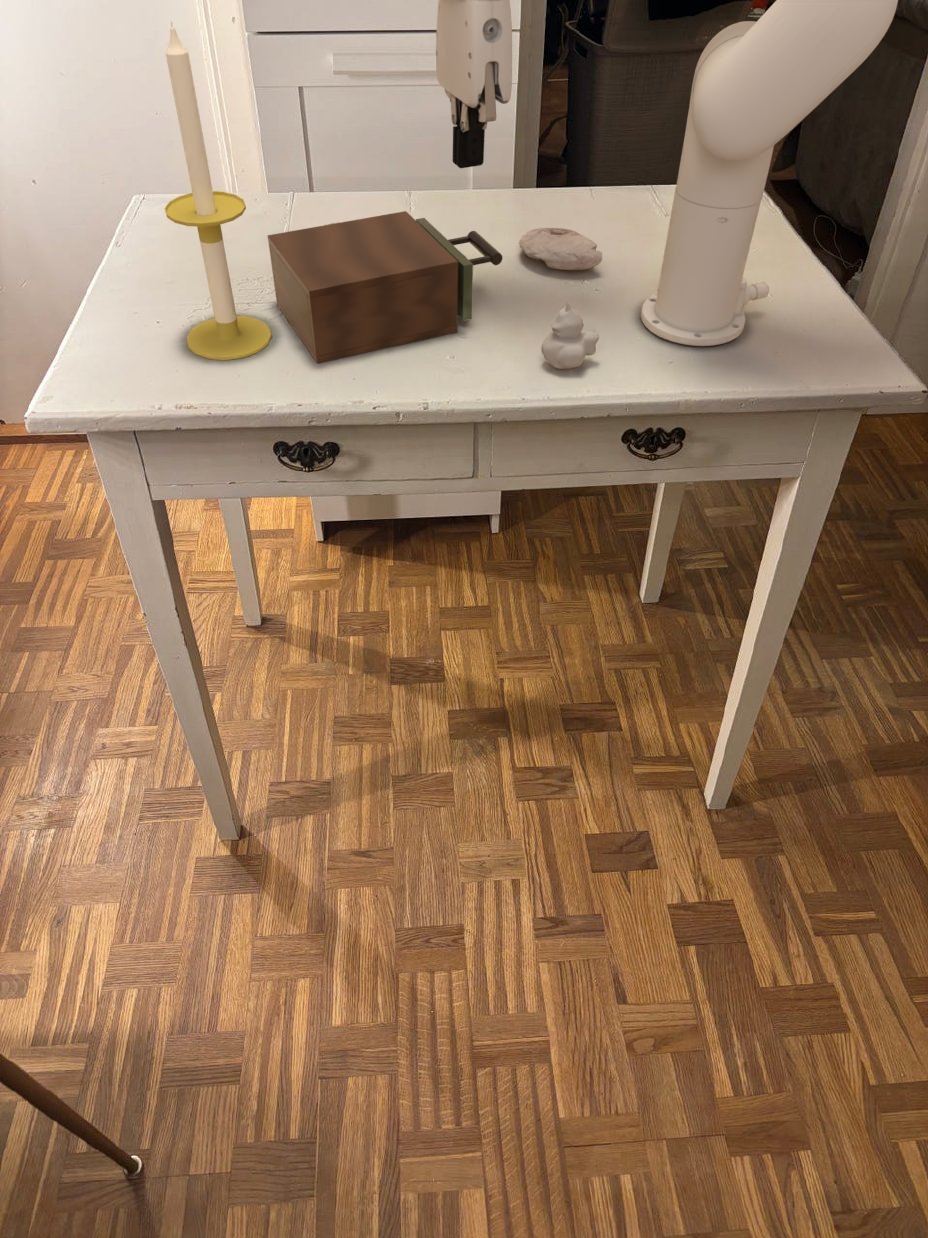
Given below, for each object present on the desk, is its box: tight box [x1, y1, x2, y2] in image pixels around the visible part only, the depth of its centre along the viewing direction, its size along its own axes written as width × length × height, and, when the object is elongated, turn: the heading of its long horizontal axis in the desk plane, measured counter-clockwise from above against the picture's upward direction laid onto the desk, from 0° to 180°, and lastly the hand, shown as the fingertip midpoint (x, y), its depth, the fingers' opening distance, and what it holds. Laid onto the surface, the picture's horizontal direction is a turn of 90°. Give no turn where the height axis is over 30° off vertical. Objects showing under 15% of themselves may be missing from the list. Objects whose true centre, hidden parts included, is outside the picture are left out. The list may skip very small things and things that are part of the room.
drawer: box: [415, 217, 503, 322], centre depth 112 cm, size 22×14×7 cm, turn 115°
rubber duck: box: [540, 299, 600, 370], centre depth 104 cm, size 5×7×8 cm
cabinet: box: [267, 210, 458, 364], centre depth 110 cm, size 18×15×9 cm
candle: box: [164, 20, 273, 361], centre depth 98 cm, size 10×10×32 cm
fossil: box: [518, 227, 603, 271], centre depth 124 cm, size 12×4×10 cm
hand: (467, 163), depth 106 cm, fingers closed
